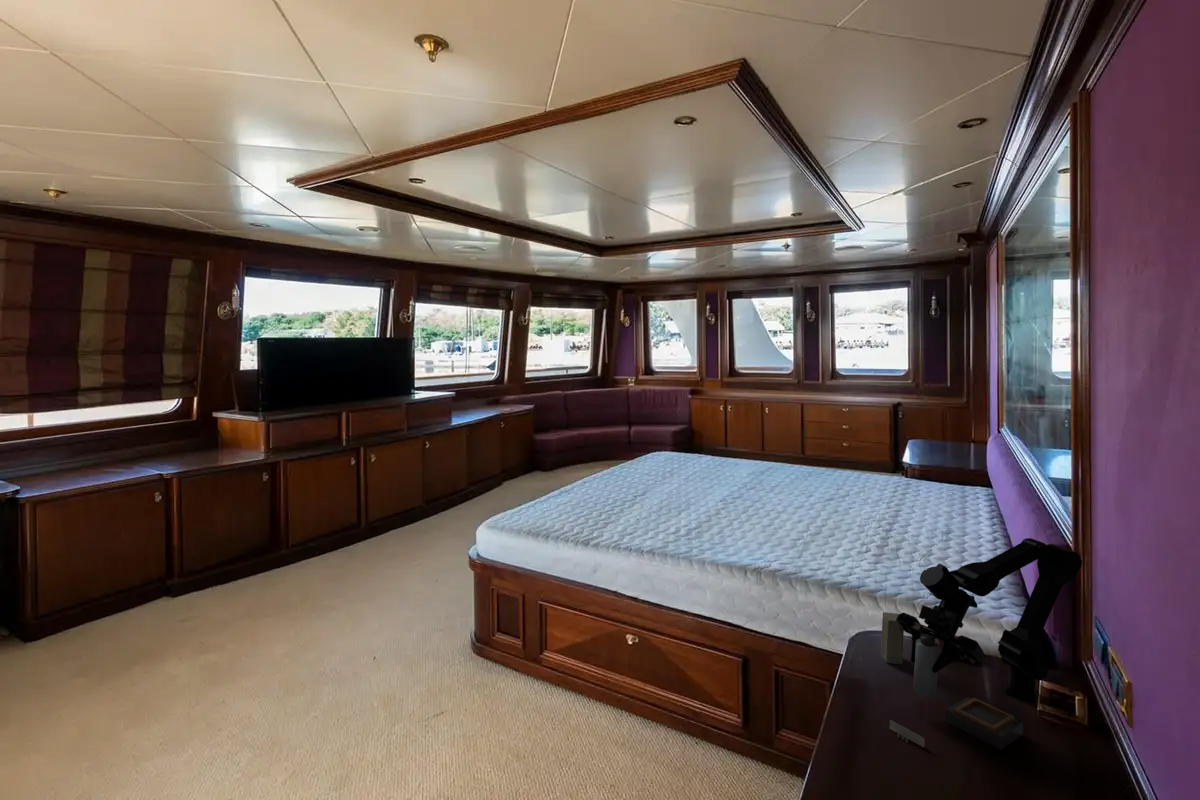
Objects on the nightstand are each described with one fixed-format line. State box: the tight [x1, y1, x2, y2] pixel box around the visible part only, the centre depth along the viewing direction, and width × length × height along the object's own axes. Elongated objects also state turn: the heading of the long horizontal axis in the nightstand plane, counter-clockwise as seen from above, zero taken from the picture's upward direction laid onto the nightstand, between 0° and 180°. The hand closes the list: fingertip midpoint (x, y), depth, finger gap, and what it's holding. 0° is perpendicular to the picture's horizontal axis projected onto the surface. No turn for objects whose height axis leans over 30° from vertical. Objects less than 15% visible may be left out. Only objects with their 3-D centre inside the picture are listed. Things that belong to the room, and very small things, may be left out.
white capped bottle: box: [912, 634, 939, 699], centre depth 145 cm, size 5×5×14 cm
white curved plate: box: [889, 719, 926, 748], centre depth 137 cm, size 4×8×3 cm, turn 34°
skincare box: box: [880, 611, 905, 665], centre depth 172 cm, size 6×4×12 cm
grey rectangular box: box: [944, 696, 1024, 751], centre depth 141 cm, size 10×12×4 cm
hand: (922, 667), depth 145 cm, fingers closed on white capped bottle, 5 cm apart
